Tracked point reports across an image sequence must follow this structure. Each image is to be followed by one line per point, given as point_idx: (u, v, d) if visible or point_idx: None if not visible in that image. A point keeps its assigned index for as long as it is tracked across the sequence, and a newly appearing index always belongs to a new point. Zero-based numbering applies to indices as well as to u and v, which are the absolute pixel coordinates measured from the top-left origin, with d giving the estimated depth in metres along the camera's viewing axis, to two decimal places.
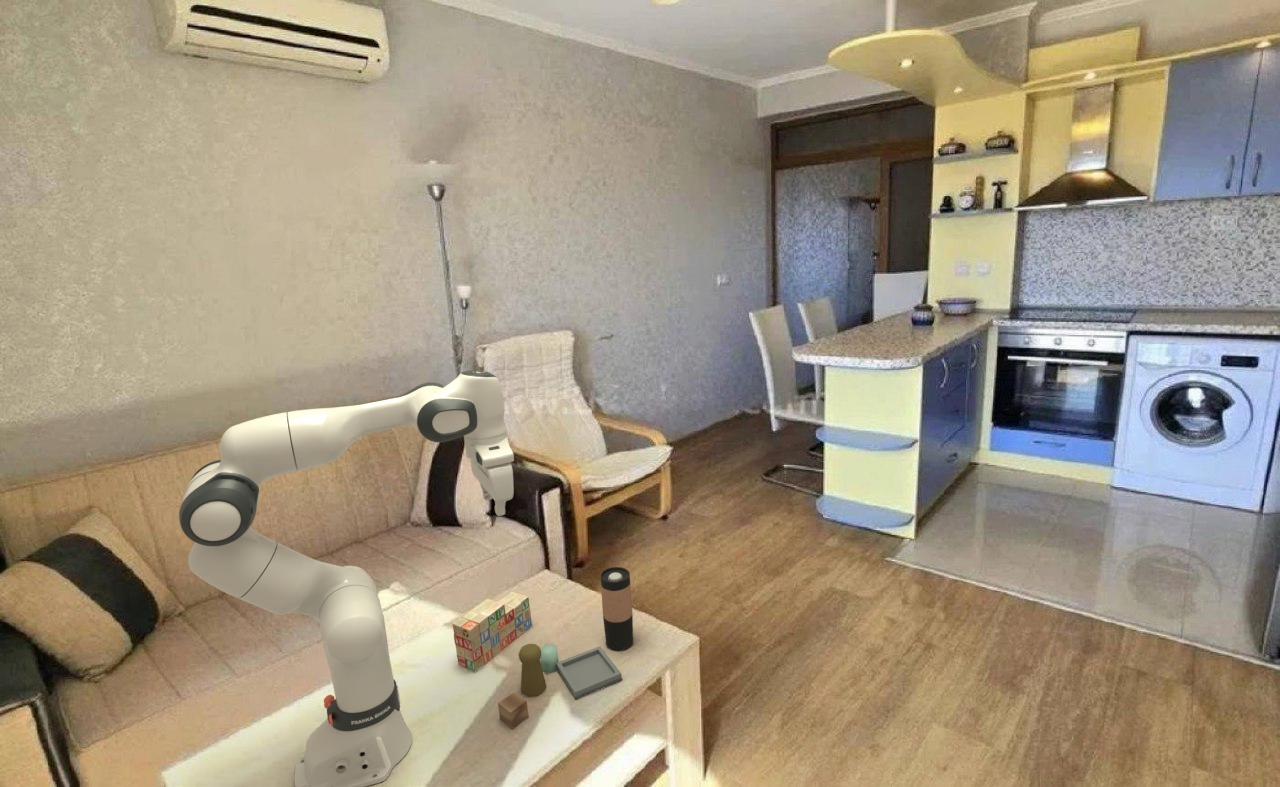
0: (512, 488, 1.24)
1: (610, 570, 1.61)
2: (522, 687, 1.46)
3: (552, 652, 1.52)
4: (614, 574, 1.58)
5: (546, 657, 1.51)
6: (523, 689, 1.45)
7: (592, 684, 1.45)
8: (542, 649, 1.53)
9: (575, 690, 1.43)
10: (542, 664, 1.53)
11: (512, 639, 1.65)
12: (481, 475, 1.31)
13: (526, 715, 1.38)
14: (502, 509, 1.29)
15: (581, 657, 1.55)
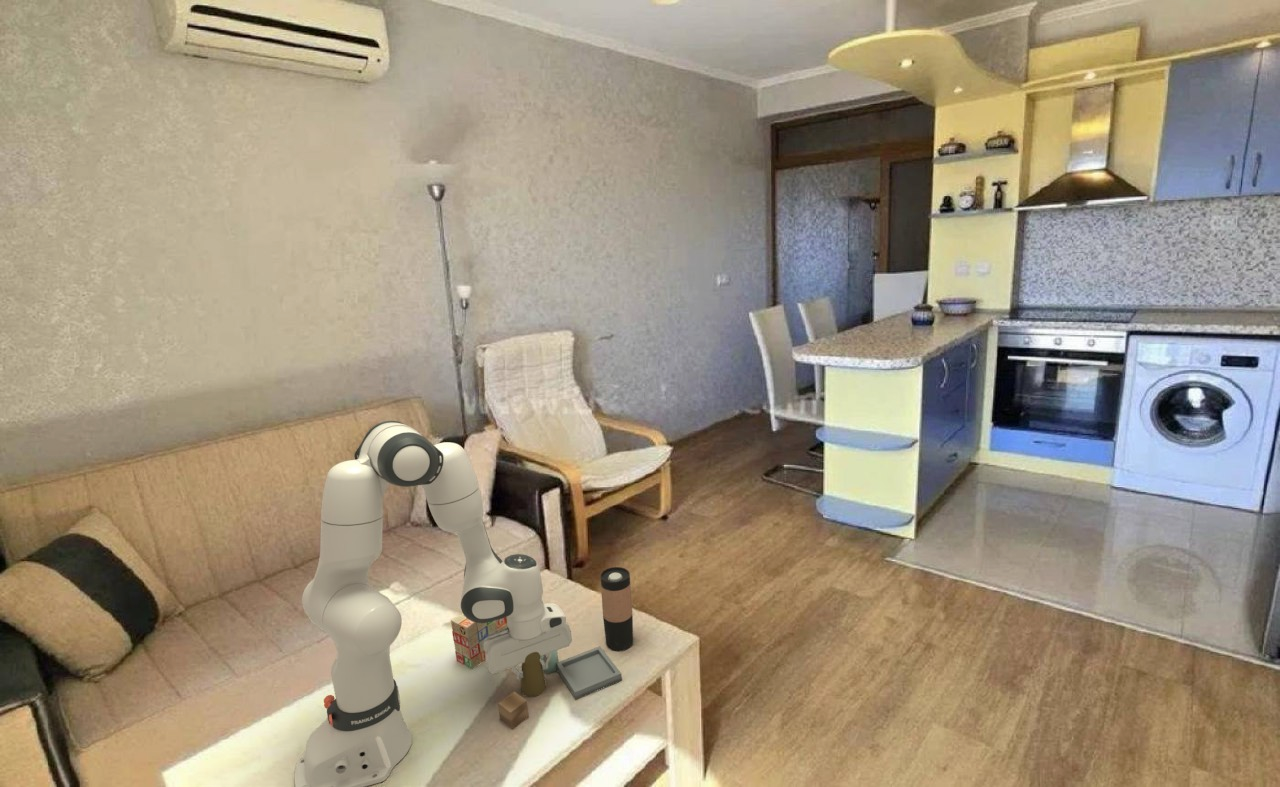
0: None
1: (610, 570, 1.61)
2: (522, 687, 1.46)
3: (552, 652, 1.52)
4: (614, 574, 1.58)
5: None
6: (523, 689, 1.45)
7: (592, 684, 1.45)
8: None
9: (575, 690, 1.43)
10: None
11: None
12: (529, 650, 1.43)
13: (526, 715, 1.38)
14: None
15: (581, 657, 1.55)
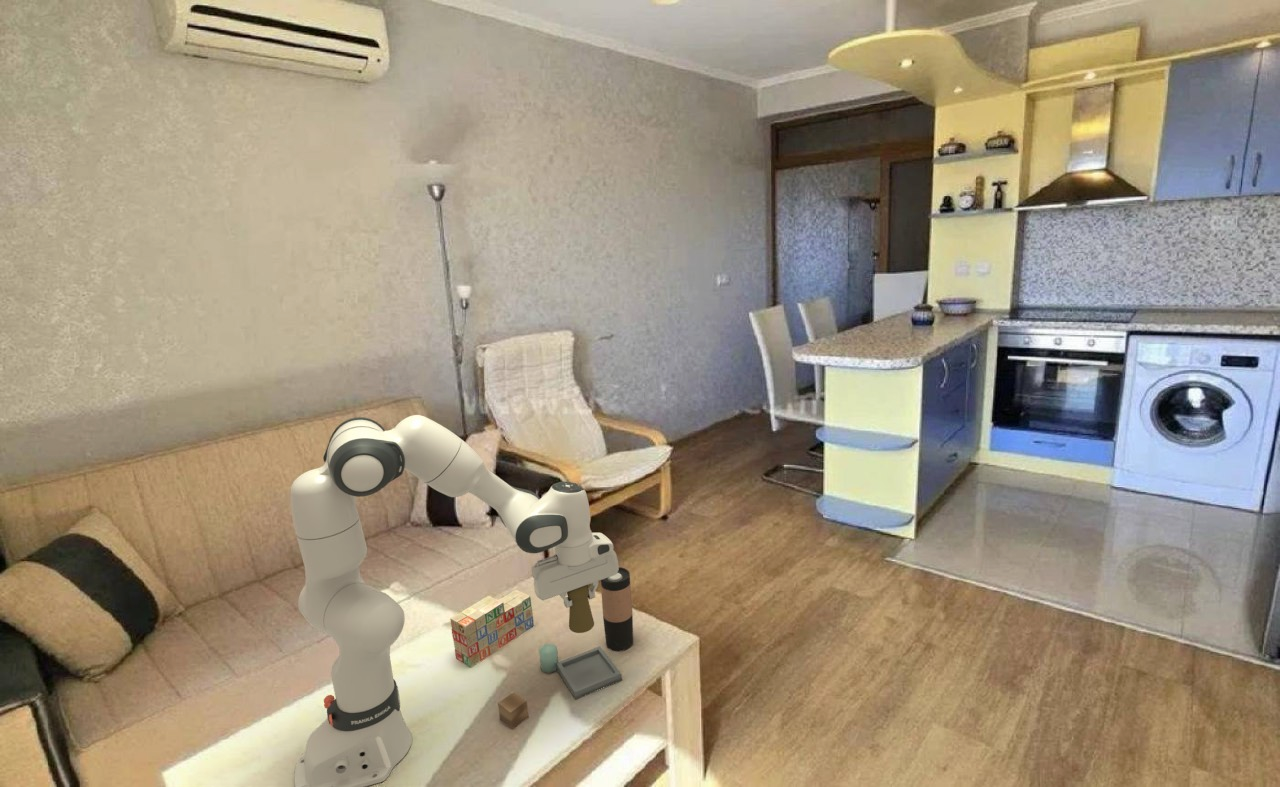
0: None
1: None
2: (570, 623, 1.46)
3: (552, 652, 1.52)
4: None
5: (546, 657, 1.51)
6: (571, 625, 1.45)
7: (592, 684, 1.45)
8: (542, 649, 1.53)
9: (575, 690, 1.43)
10: (542, 664, 1.53)
11: (512, 637, 1.66)
12: (578, 577, 1.42)
13: (526, 715, 1.38)
14: None
15: (581, 657, 1.55)
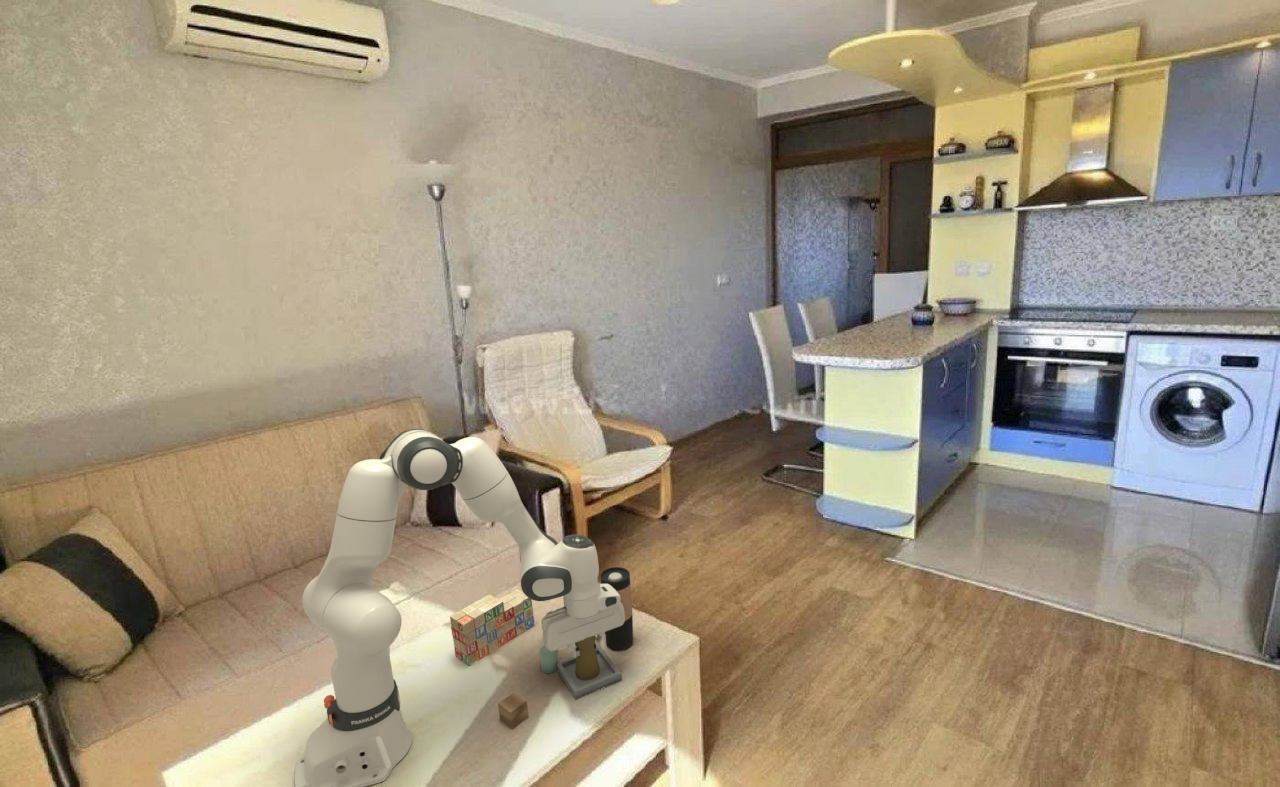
0: None
1: (610, 570, 1.61)
2: (577, 671, 1.49)
3: (553, 652, 1.52)
4: (614, 574, 1.58)
5: (547, 657, 1.51)
6: (578, 672, 1.49)
7: (592, 684, 1.45)
8: (542, 649, 1.53)
9: (575, 690, 1.43)
10: (542, 664, 1.52)
11: (511, 637, 1.66)
12: (585, 629, 1.46)
13: (526, 715, 1.38)
14: None
15: None
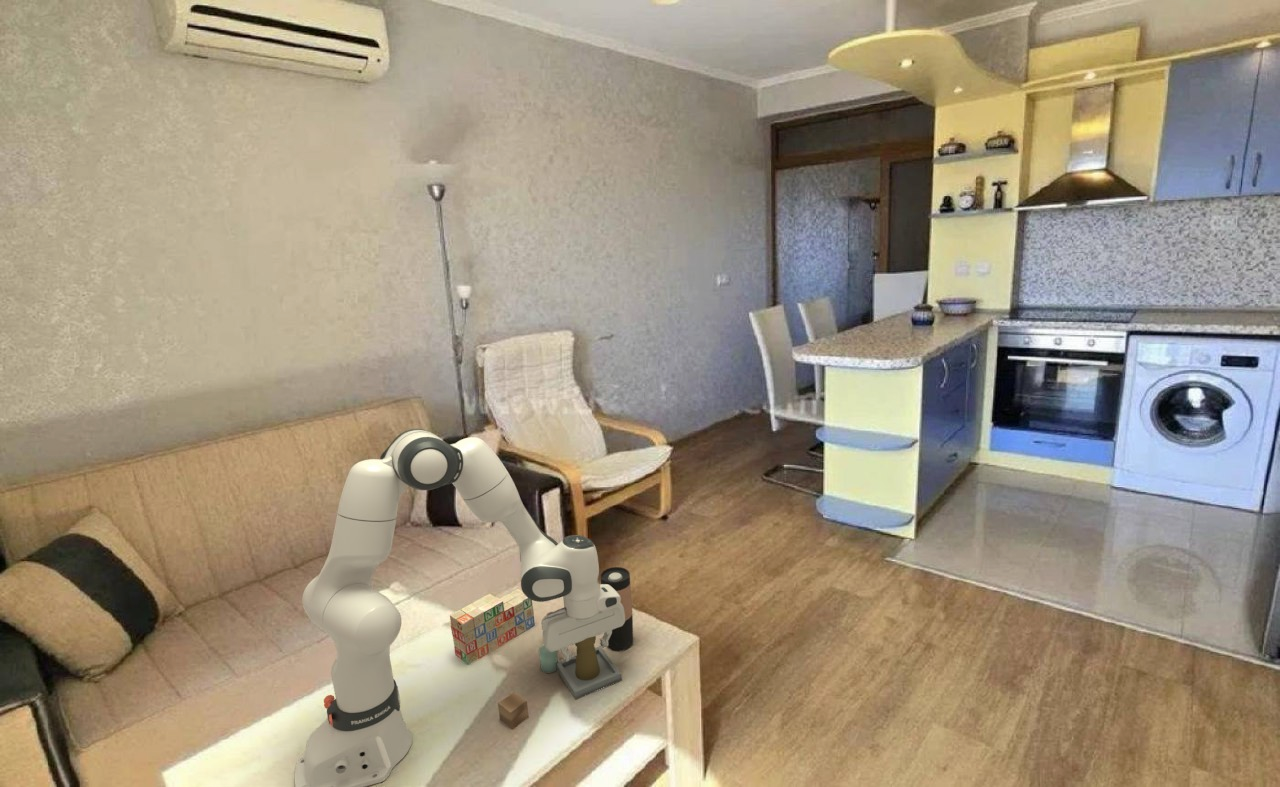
0: None
1: (610, 570, 1.61)
2: (577, 671, 1.49)
3: None
4: (614, 574, 1.58)
5: (546, 657, 1.51)
6: (578, 672, 1.49)
7: (592, 684, 1.45)
8: (542, 649, 1.53)
9: (575, 690, 1.43)
10: (542, 664, 1.52)
11: (511, 636, 1.66)
12: (585, 629, 1.46)
13: (526, 715, 1.38)
14: None
15: None
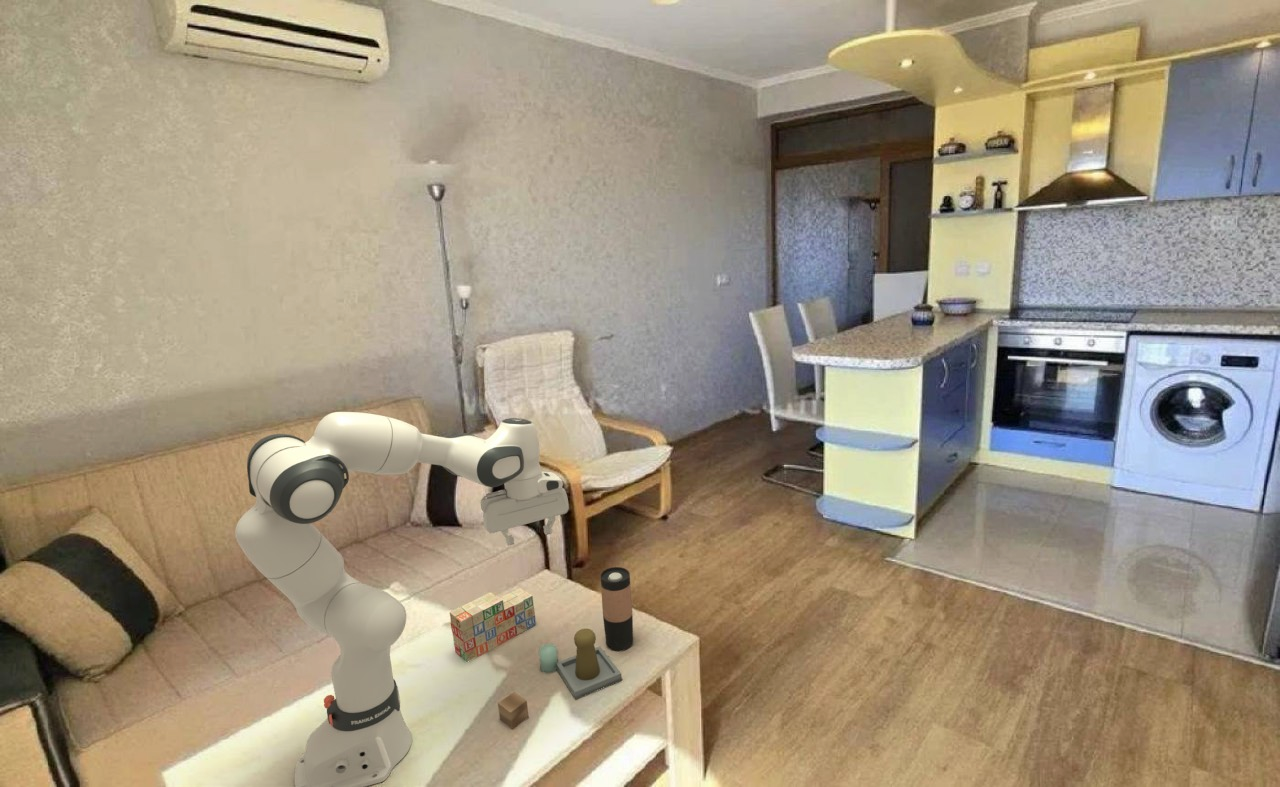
0: None
1: (610, 570, 1.61)
2: (577, 671, 1.49)
3: (552, 651, 1.52)
4: (614, 574, 1.58)
5: (547, 657, 1.51)
6: (578, 672, 1.49)
7: (592, 684, 1.45)
8: (542, 649, 1.53)
9: (575, 690, 1.43)
10: (543, 664, 1.52)
11: (511, 635, 1.67)
12: (527, 513, 1.45)
13: (526, 715, 1.38)
14: None
15: None
